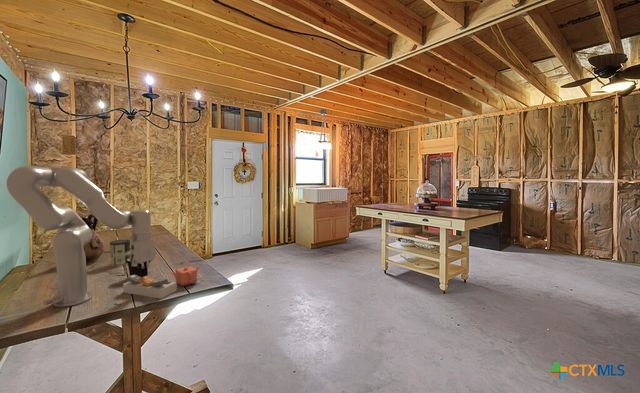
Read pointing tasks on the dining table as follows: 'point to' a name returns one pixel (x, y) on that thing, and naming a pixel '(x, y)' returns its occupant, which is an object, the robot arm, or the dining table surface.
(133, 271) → the coffee mug
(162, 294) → the power strip
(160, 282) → the rocker
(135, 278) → the rocker
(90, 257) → the ceramic jug
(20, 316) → the dining table surface
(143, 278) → the rocker
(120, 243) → the coffee can
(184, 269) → the teapot
